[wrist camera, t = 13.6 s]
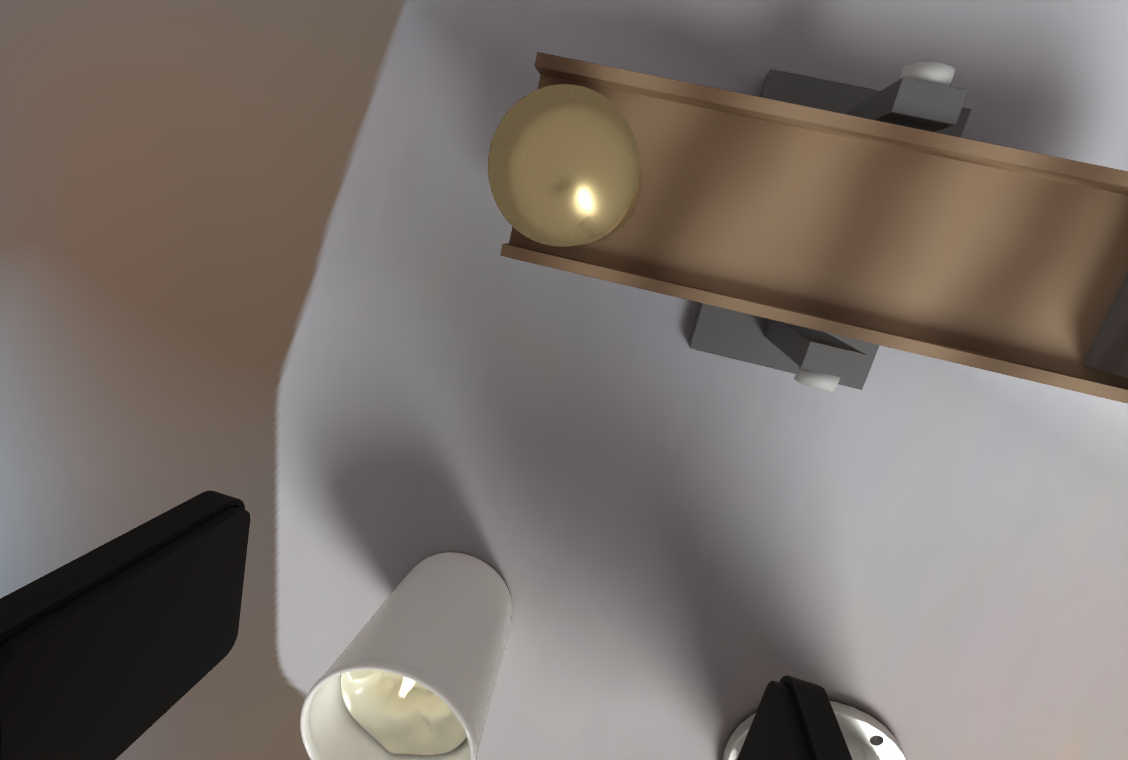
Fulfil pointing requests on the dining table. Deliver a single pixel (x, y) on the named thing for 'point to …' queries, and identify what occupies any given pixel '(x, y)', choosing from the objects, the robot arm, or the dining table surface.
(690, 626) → the dining table surface
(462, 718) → the candle holder
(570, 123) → the brass weight
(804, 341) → the beam stand
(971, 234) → the balance beam
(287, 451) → the dining table surface
